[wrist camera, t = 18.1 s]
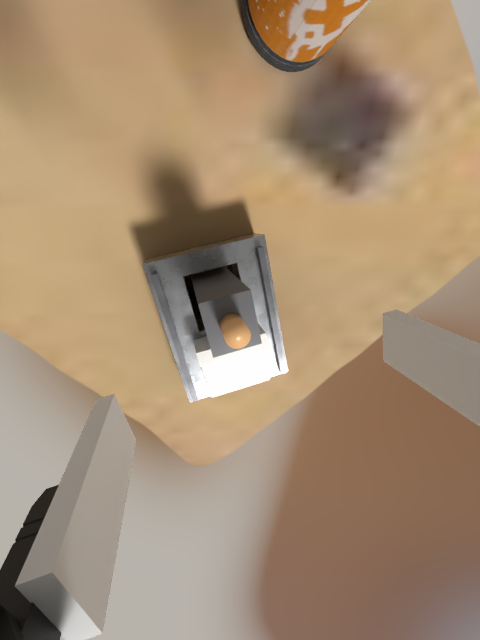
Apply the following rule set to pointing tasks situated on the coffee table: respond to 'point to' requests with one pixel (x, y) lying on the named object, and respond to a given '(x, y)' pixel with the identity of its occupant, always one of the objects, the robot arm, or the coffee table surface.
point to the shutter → (233, 366)
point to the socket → (185, 328)
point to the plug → (226, 311)
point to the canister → (297, 28)
